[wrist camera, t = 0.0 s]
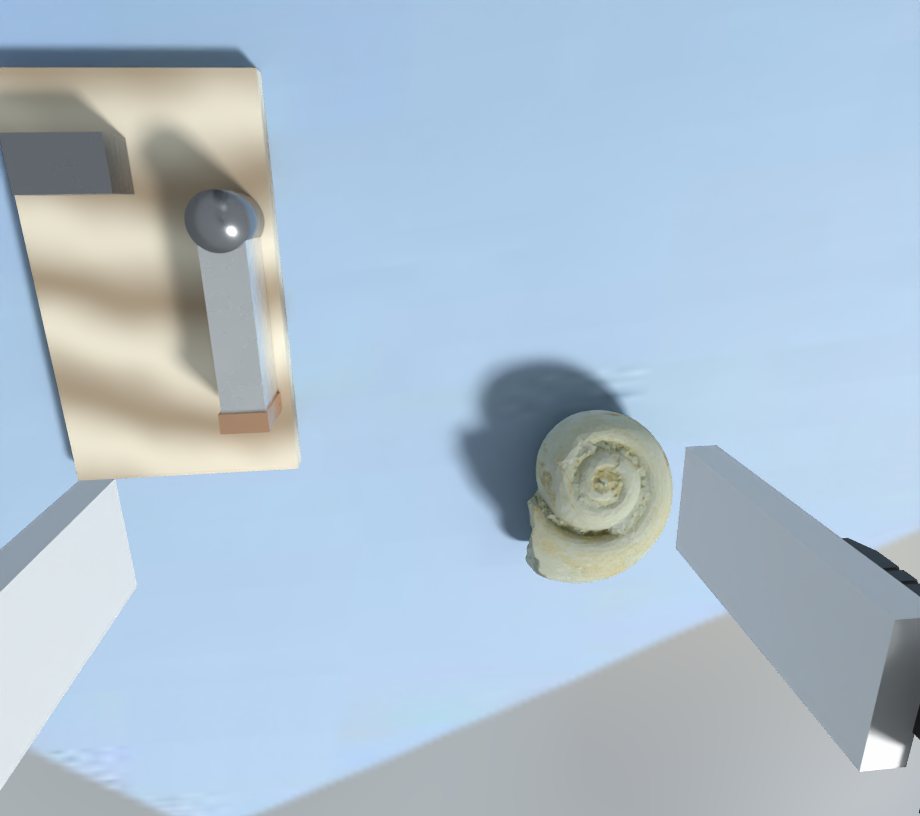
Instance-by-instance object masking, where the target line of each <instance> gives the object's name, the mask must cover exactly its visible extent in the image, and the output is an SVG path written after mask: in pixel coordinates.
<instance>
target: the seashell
mask: <svg viewBox="0 0 920 816" xmlns="http://www.w3.org/2000/svg"><path fill="white" fill-rule="evenodd" d="M536 480H537V485H538V490H537V492H536V493H535V494H534V496H533V497H532V498H531V499H529V500H528V501H527V502H528V508H529V514H530V525H531V527H532V532H531V536H530V538H529V544H528V546H527V555H526V562H527V563H528V565H529V566H530V567H531V568H532V569H533V570H534V571H535V573H537V574H538V575H540V576H542V577H545V578H548V579H550V580H555V581H562V582H569V583H587V582H594V581H600V580H603V579H607V578H610V577H612V576H615V575H617V574H619V573H621V572H623V571H624V570H626V569H628V568H629V567H631V566H632V565H633V564H635V563H636V562H637V561H638V560H639V559H641V558H642V557H643V556H644V555H645V554H646V553H647V552H648V550H649V549H650V548H651V547H652V546H653V545H654V543H655V542H656V540H657V539H658V537H659V536H660V534H661V532H662V531H663V529H664V526H665V524H666V522H667V519H668V516H669V513H670V509H671V504H672V494H673V488H672V477H671V472H670V467H669V464H668V461H667V458H666V456H665V453H664V451H663V449H662V448H661V446H660V444H659V443H658V441H657V440H656V439H655V438H654V436H653V435H652V434H651V433H650V432H649V431H648V430H647V429H646V428H645V427H644V426H642V425H641V424H640V423H638V422H637V421H635V420H634V419H632V418H630V417H627V416H625V415H623V414H620V413H617V412H613V411H606V410H589V411H583V412H579V413H576V414H573V415H571V416H568V417H567V418H565V419H563V420H562V421H561V422H559V423H558V424H557V425H555V426H554V427H553V429H552V430H551V431H550V432H549V433H548V434H547V436H546V437H545V439H544V440H543V442H542V444H541V447H540V449H539V452H538V455H537V461H536Z"/></svg>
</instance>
